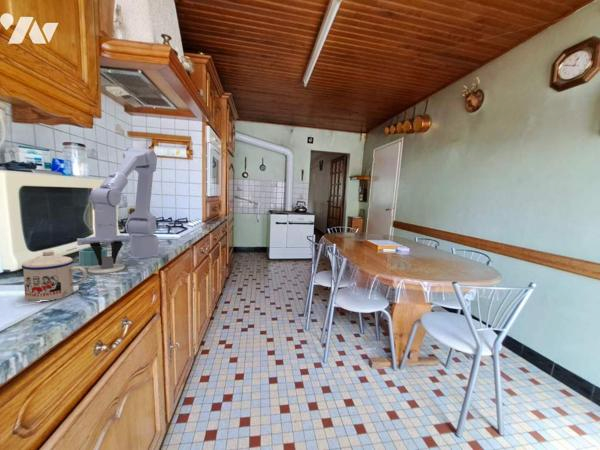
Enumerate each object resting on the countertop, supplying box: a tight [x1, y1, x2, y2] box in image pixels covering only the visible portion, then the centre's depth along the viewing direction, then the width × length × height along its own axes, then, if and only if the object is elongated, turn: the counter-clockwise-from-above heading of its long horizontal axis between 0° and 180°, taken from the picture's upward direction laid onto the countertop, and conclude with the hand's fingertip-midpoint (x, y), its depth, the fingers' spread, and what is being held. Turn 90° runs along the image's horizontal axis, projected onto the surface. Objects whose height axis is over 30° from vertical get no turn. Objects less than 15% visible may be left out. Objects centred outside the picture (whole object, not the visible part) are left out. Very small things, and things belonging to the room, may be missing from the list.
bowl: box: [78, 247, 108, 267], centre depth 90 cm, size 8×8×5 cm
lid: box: [87, 255, 126, 275], centre depth 84 cm, size 10×10×4 cm
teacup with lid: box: [21, 249, 88, 302], centre depth 63 cm, size 12×9×12 cm
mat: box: [84, 263, 130, 277], centre depth 85 cm, size 10×10×1 cm
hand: (106, 264), depth 84 cm, fingers closed on lid, 3 cm apart
